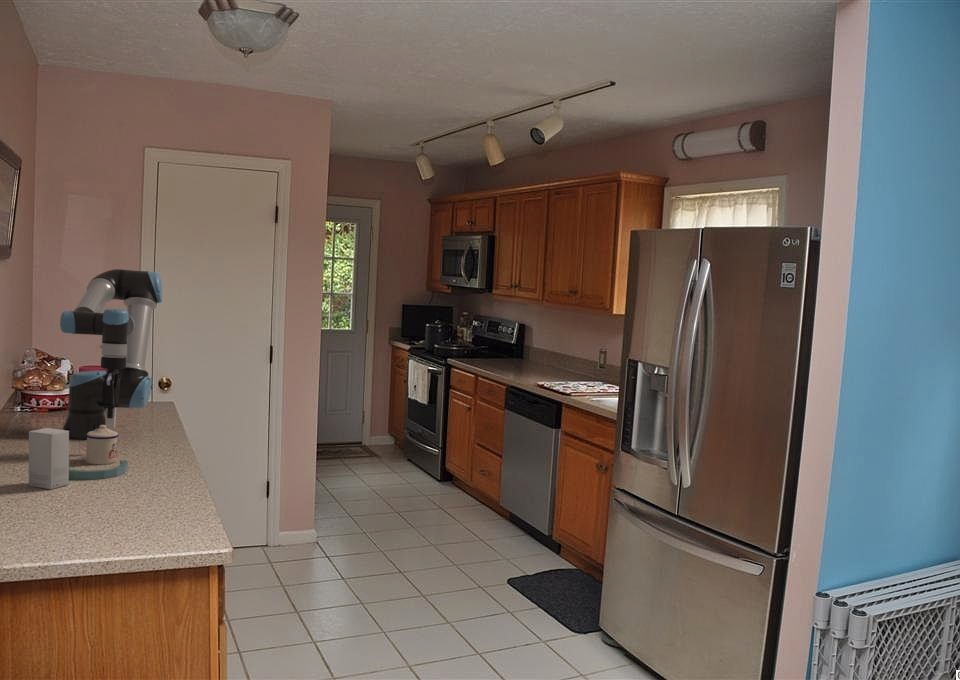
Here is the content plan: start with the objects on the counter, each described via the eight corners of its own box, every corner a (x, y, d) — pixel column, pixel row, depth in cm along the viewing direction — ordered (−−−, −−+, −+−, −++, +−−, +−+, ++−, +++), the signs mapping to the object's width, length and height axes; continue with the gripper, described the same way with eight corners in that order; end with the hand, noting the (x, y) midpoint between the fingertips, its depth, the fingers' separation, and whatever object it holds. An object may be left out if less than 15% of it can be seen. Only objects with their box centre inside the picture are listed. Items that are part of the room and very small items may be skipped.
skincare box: (69, 485, 222) (71, 430, 221) (49, 490, 215) (51, 434, 214) (46, 481, 224) (48, 426, 223) (25, 485, 218) (28, 430, 217)
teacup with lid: (114, 465, 247) (116, 428, 246) (82, 465, 244) (84, 427, 244) (119, 456, 259) (121, 421, 258) (89, 456, 256) (90, 420, 255)
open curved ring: (59, 465, 241) (60, 458, 241) (130, 467, 246) (130, 459, 246) (43, 479, 226) (44, 470, 226) (119, 480, 230) (119, 472, 230)
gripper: (106, 354, 264) (102, 423, 266) (96, 357, 252) (92, 430, 253) (130, 355, 266) (126, 424, 267) (121, 358, 254) (118, 431, 255)
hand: (110, 427), depth 260 cm, fingers closed
